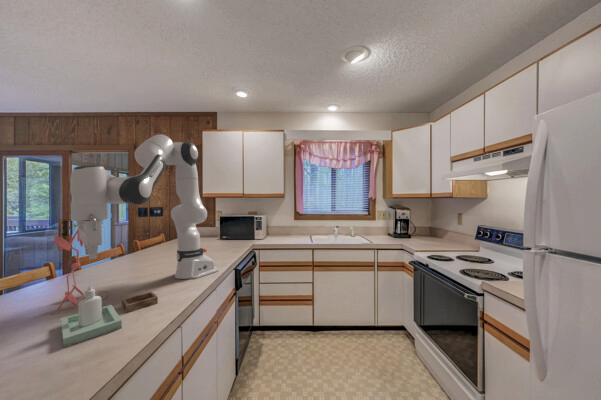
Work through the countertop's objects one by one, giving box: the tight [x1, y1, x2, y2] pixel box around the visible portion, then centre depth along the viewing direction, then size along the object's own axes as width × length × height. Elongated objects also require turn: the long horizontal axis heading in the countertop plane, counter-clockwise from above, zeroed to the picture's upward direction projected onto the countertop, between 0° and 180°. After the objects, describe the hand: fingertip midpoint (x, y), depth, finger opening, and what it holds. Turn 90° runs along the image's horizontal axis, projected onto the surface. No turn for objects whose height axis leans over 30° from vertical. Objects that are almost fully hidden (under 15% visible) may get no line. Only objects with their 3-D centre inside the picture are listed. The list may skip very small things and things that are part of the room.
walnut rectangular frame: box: [121, 291, 159, 313], centre depth 90 cm, size 10×8×2 cm
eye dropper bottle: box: [77, 285, 103, 327], centre depth 75 cm, size 4×6×12 cm
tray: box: [60, 304, 123, 349], centre depth 74 cm, size 17×13×2 cm
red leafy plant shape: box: [51, 228, 109, 316], centre depth 95 cm, size 15×26×35 cm, turn 33°
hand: (90, 256), depth 75 cm, fingers open, 8 cm apart
